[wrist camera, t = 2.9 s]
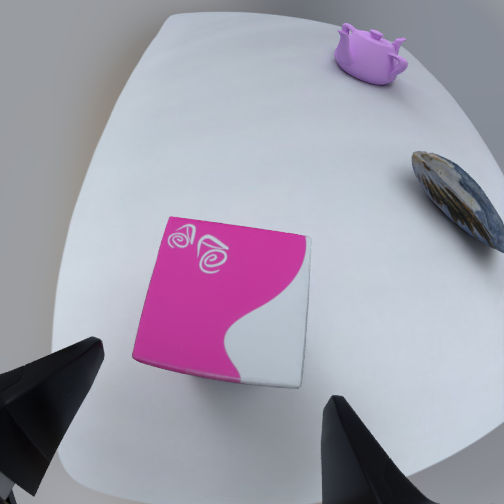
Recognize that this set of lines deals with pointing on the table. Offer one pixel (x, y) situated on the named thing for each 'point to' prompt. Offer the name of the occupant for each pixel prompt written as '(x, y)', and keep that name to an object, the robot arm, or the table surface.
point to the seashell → (459, 198)
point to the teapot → (369, 55)
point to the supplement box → (227, 304)
